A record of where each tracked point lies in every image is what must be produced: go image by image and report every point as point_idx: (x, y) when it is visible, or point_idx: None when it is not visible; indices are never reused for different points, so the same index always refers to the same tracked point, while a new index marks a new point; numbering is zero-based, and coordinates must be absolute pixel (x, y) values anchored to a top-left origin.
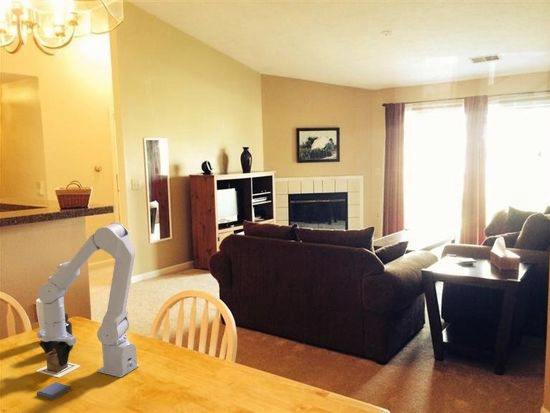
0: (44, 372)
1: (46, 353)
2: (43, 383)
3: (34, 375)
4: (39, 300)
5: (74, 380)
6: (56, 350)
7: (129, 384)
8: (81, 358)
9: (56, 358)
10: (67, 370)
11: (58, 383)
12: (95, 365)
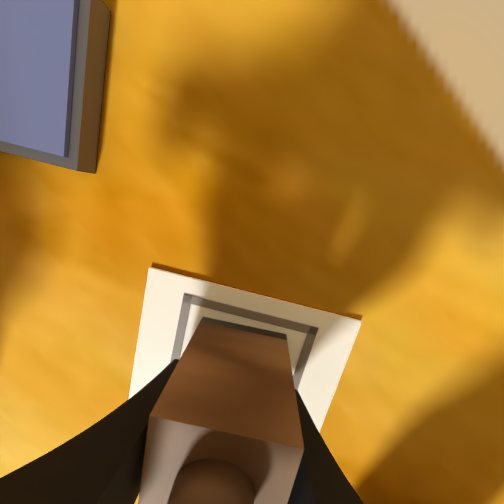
0: (288, 310)
1: (325, 466)
2: (197, 185)
3: (334, 272)
4: None
5: (36, 252)
6: (81, 497)
7: None
8: None
9: (163, 394)
10: (161, 350)
11: (27, 144)
12: (59, 420)
